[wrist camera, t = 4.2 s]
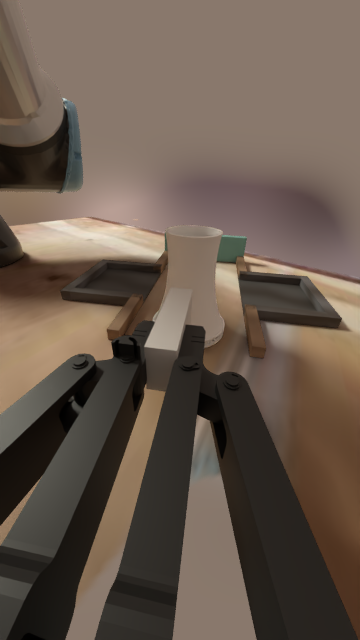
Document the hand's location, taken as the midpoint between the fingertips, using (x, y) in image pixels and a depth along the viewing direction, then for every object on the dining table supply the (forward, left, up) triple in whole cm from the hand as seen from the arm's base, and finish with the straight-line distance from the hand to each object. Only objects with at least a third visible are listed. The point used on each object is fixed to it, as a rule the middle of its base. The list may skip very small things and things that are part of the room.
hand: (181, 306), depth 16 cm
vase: (-6, +3, -6) cm, 9 cm away
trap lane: (-14, +8, -6) cm, 17 cm away
